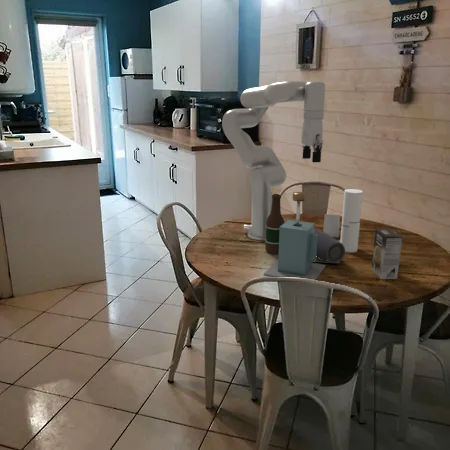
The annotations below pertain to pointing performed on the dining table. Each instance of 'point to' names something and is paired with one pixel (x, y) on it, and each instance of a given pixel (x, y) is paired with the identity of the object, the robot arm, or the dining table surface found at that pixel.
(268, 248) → the beer bottle
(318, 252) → the bluetooth speaker
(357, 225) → the cylindrical container
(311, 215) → the dining table surface
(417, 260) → the dining table surface
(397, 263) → the coffee box
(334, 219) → the light grey block
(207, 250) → the dining table surface
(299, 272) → the teal block
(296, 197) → the shiny round knob
